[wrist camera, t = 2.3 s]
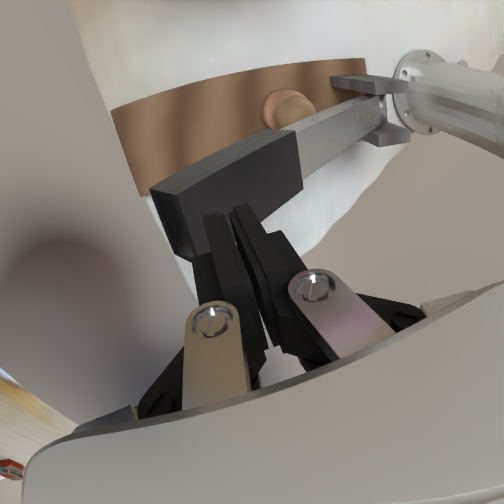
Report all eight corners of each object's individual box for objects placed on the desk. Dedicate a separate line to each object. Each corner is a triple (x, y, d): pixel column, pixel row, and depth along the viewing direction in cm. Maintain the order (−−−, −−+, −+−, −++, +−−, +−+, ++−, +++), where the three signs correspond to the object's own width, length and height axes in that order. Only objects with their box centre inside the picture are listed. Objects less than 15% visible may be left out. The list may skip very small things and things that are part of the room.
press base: (357, 58, 29) (413, 62, 20) (365, 134, 34) (416, 158, 26) (113, 109, 26) (87, 124, 18) (141, 191, 32) (132, 235, 24)
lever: (367, 88, 26) (387, 90, 24) (370, 121, 28) (390, 123, 26) (148, 188, 12) (176, 194, 11) (174, 254, 14) (202, 268, 13)
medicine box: (12, 466, 75) (12, 480, 68) (-2, 459, 70) (-3, 474, 63) (24, 465, 73) (23, 480, 67) (9, 458, 68) (7, 473, 62)
